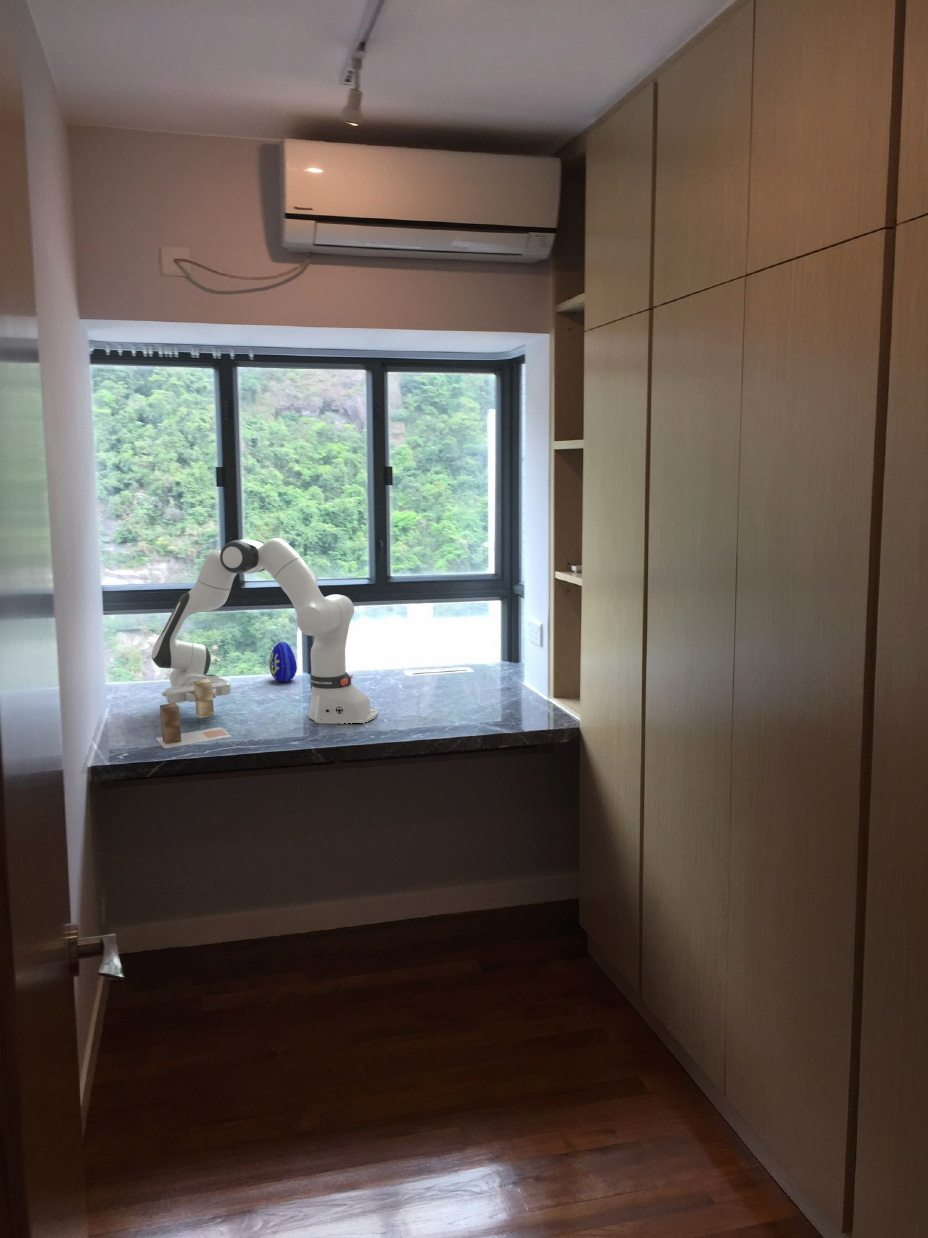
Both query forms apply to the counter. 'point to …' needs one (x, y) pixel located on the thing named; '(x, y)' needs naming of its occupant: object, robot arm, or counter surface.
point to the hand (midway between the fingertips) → (204, 697)
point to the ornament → (282, 663)
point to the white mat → (197, 737)
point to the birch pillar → (204, 698)
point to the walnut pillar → (170, 723)
